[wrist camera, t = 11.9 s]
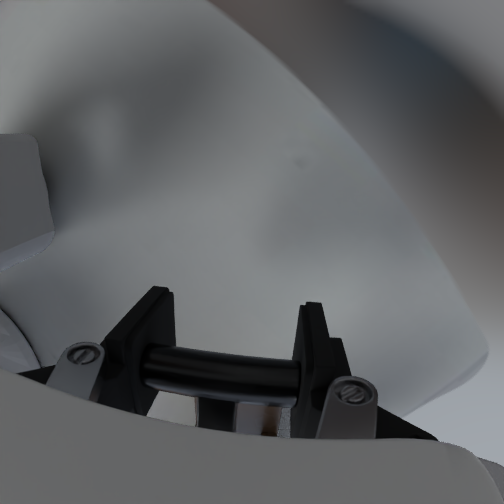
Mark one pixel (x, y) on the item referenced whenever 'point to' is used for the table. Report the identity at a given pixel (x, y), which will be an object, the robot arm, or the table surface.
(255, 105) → the table surface
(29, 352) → the mug
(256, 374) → the door handle
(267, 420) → the handle bracket
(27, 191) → the cable organizer
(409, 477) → the robot arm
